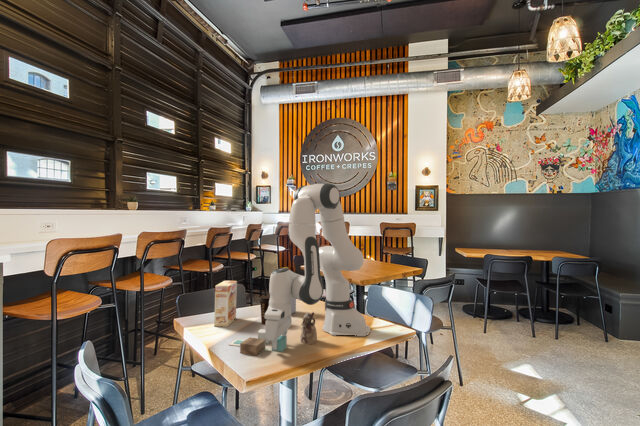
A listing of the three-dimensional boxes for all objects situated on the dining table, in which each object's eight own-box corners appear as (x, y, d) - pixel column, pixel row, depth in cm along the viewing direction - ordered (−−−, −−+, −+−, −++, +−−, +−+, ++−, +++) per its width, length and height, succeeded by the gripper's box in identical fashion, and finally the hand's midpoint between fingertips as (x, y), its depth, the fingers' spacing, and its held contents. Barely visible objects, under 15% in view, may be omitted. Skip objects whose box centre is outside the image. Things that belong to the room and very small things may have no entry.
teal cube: (286, 347, 134) (286, 336, 134) (282, 351, 130) (282, 340, 130) (275, 346, 135) (276, 335, 135) (271, 350, 131) (272, 338, 131)
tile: (248, 341, 140) (248, 340, 140) (242, 346, 134) (242, 345, 134) (235, 340, 141) (235, 338, 141) (228, 345, 136) (228, 343, 136)
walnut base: (265, 349, 132) (265, 339, 132) (256, 356, 125) (256, 345, 125) (249, 347, 134) (250, 337, 134) (240, 353, 128) (240, 343, 128)
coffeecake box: (228, 326, 159) (229, 285, 160) (213, 326, 159) (214, 285, 160) (236, 317, 174) (237, 280, 175) (223, 317, 174) (224, 280, 175)
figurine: (297, 339, 143) (298, 311, 143) (312, 337, 146) (313, 310, 146) (303, 345, 137) (304, 315, 137) (319, 343, 139) (319, 314, 140)
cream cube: (270, 339, 143) (270, 329, 143) (268, 343, 138) (268, 332, 138) (259, 339, 143) (259, 329, 143) (257, 343, 138) (258, 332, 138)
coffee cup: (278, 321, 169) (279, 295, 170) (274, 326, 161) (275, 299, 162) (261, 320, 170) (262, 294, 171) (257, 325, 162) (257, 298, 162)
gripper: (281, 302, 144) (280, 335, 143) (262, 315, 124) (261, 353, 124) (295, 303, 142) (294, 336, 142) (278, 317, 123) (277, 355, 122)
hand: (279, 344), depth 133 cm, fingers open, 8 cm apart
